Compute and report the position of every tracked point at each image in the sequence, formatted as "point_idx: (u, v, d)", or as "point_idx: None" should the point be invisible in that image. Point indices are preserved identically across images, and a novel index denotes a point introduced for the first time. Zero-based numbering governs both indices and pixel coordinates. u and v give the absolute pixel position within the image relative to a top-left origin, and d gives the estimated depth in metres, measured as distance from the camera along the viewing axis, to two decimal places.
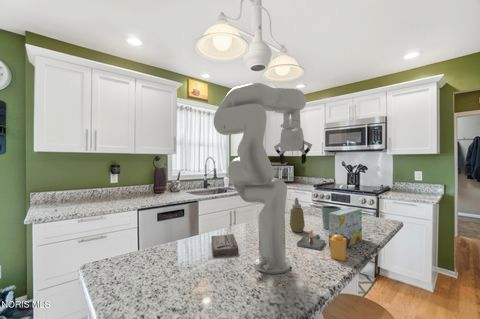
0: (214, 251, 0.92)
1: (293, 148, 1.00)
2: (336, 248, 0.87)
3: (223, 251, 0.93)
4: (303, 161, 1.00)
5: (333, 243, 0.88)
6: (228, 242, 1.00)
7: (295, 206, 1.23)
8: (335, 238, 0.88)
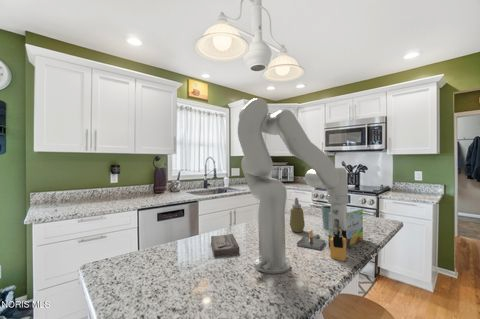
0: (215, 251, 0.92)
1: (347, 225, 0.89)
2: (336, 248, 0.87)
3: (224, 251, 0.93)
4: None
5: None
6: (228, 242, 1.00)
7: (295, 206, 1.23)
8: None
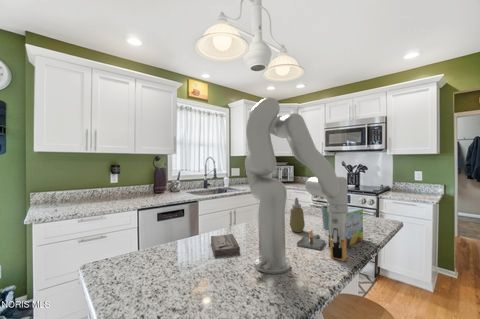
0: (216, 251, 0.92)
1: (346, 235, 0.89)
2: None
3: (224, 251, 0.93)
4: None
5: None
6: (229, 242, 1.00)
7: (295, 206, 1.23)
8: None
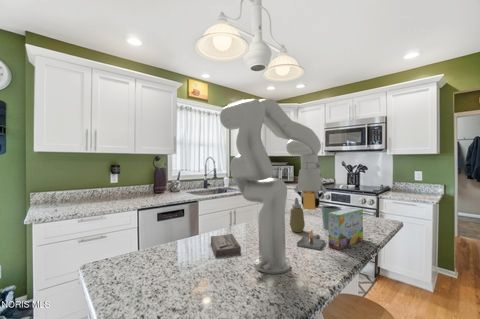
0: (217, 251, 0.92)
1: None
2: None
3: (225, 251, 0.93)
4: None
5: (315, 196, 1.02)
6: (229, 242, 1.00)
7: (295, 206, 1.23)
8: None
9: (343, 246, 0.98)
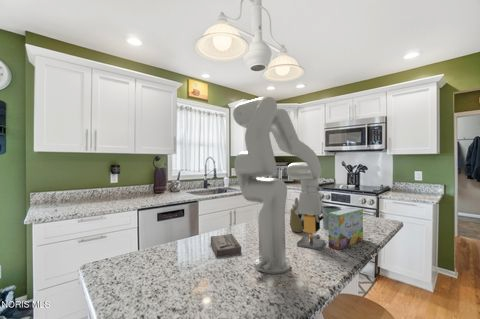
0: (217, 251, 0.92)
1: None
2: None
3: (226, 251, 0.93)
4: None
5: (315, 219, 1.02)
6: (229, 242, 1.00)
7: (295, 206, 1.23)
8: (313, 215, 1.03)
9: (343, 246, 0.98)
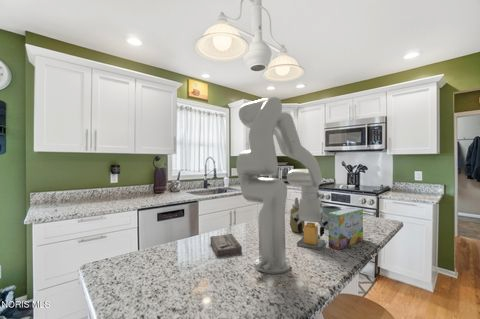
0: (218, 251, 0.92)
1: None
2: (316, 233, 1.02)
3: (227, 251, 0.93)
4: None
5: (315, 230, 1.01)
6: (229, 242, 1.00)
7: (295, 206, 1.23)
8: (314, 225, 1.02)
9: (343, 246, 0.98)
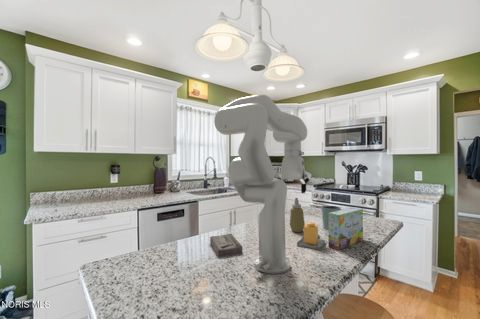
0: (219, 251, 0.92)
1: None
2: (316, 233, 1.02)
3: (228, 251, 0.93)
4: None
5: (315, 230, 1.01)
6: (230, 242, 1.00)
7: (295, 206, 1.23)
8: (314, 225, 1.02)
9: (343, 246, 0.98)
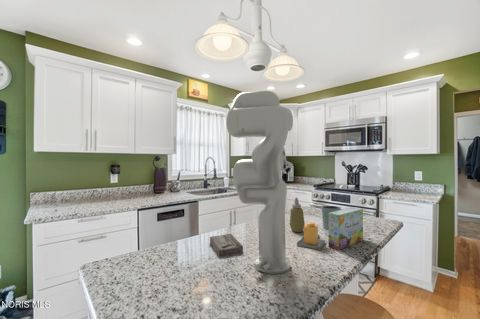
0: (220, 251, 0.92)
1: None
2: (316, 233, 1.02)
3: (228, 251, 0.93)
4: None
5: (315, 230, 1.01)
6: (230, 241, 1.00)
7: (295, 206, 1.23)
8: (314, 225, 1.02)
9: (343, 246, 0.98)
